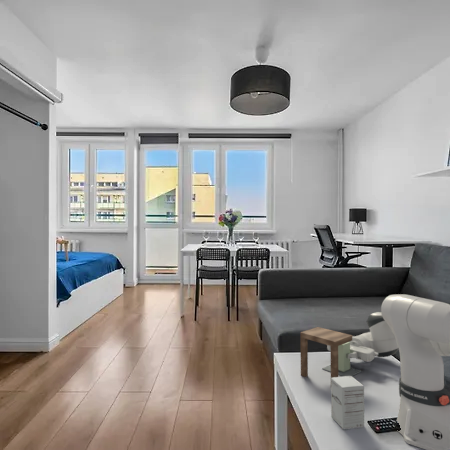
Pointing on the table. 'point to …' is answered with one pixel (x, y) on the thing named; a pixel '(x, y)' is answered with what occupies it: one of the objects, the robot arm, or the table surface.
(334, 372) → the shelf stand
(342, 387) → the supplement box
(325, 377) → the table surface
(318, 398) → the table surface
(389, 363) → the table surface
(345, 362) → the sage block
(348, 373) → the slate mat
